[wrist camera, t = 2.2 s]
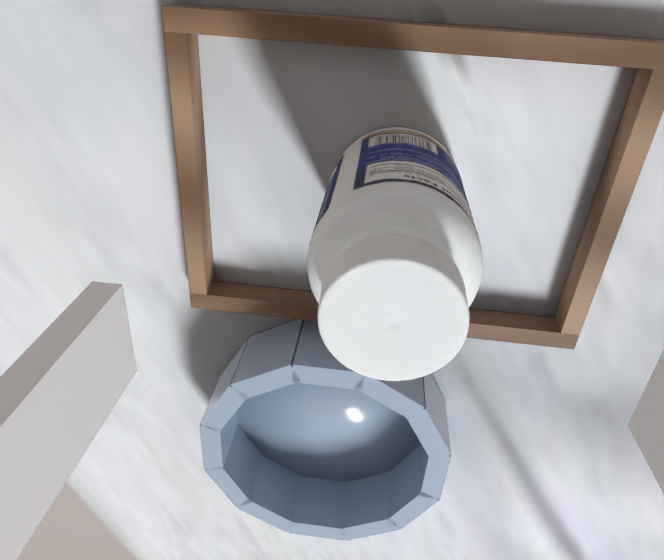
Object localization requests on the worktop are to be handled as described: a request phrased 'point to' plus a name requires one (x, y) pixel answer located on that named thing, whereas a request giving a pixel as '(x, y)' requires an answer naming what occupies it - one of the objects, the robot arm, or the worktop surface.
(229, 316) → the worktop surface
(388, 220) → the pill bottle
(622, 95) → the worktop surface
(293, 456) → the bowl
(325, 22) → the empty rectangular wooden frame
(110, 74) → the worktop surface
